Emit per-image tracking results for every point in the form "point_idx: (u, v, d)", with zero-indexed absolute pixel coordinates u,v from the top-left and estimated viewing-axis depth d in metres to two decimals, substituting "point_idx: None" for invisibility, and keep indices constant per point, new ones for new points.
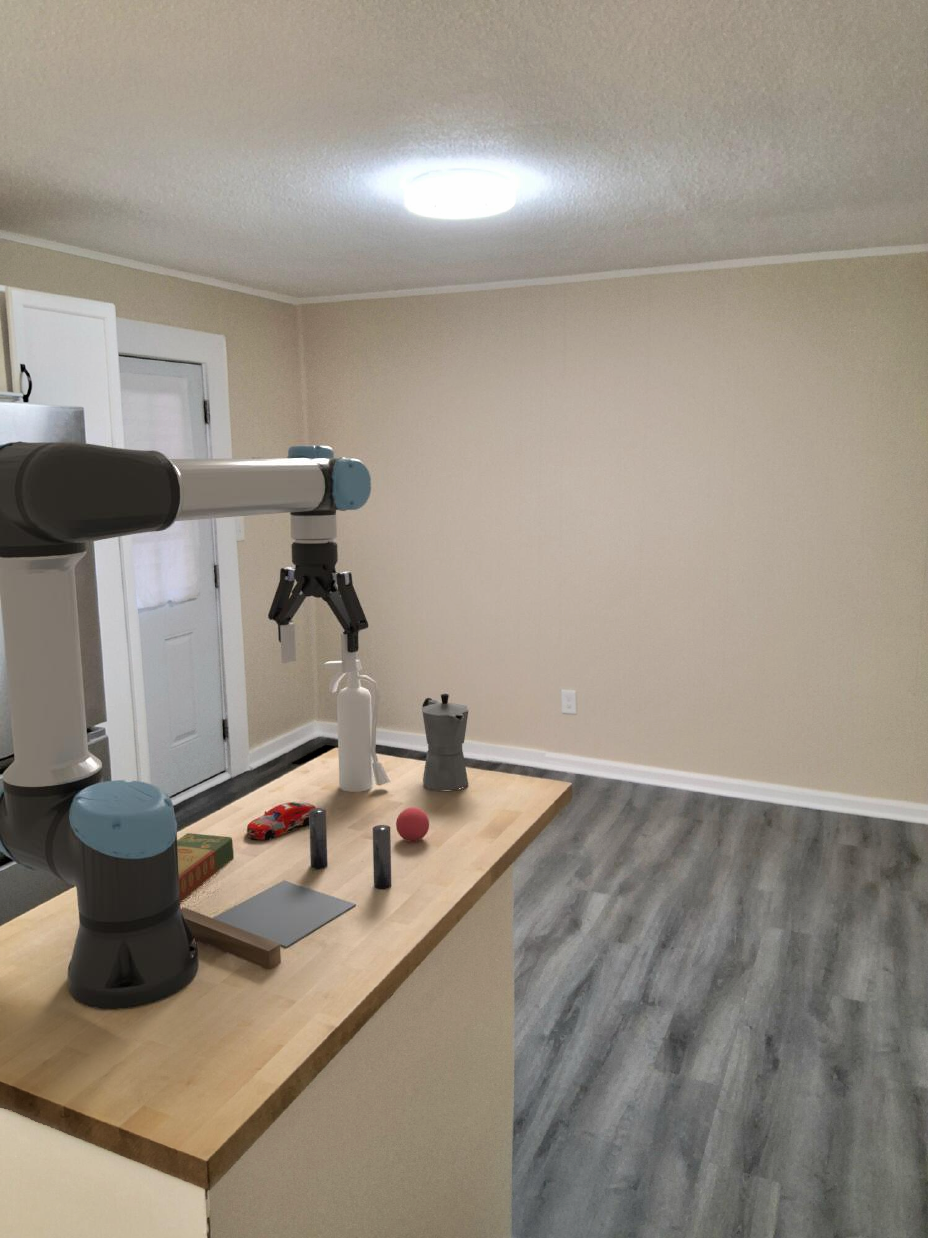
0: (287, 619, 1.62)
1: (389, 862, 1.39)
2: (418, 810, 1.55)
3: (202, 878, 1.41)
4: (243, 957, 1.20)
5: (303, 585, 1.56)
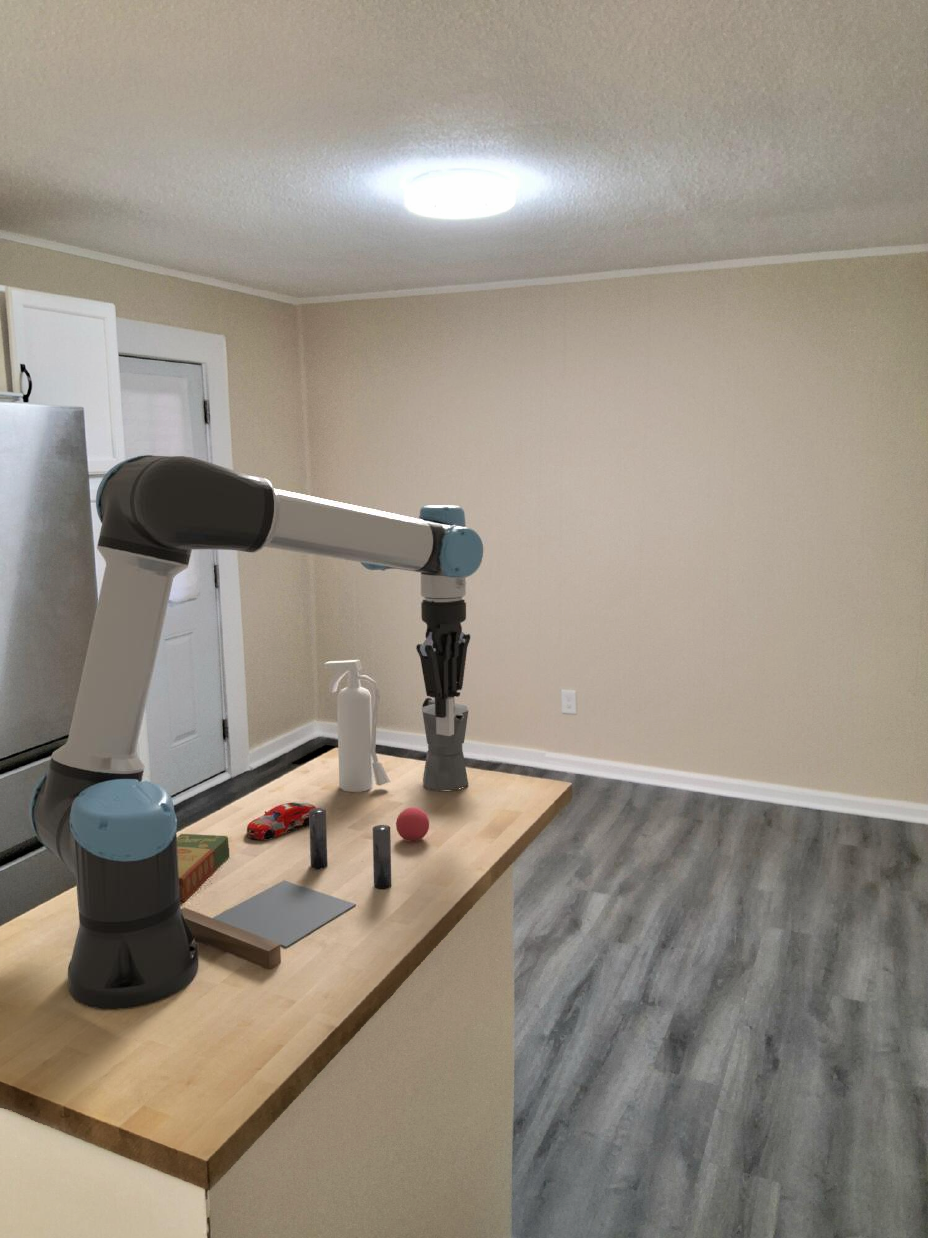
0: (449, 690, 1.61)
1: (389, 862, 1.39)
2: (418, 810, 1.55)
3: (204, 877, 1.41)
4: (243, 957, 1.20)
5: None
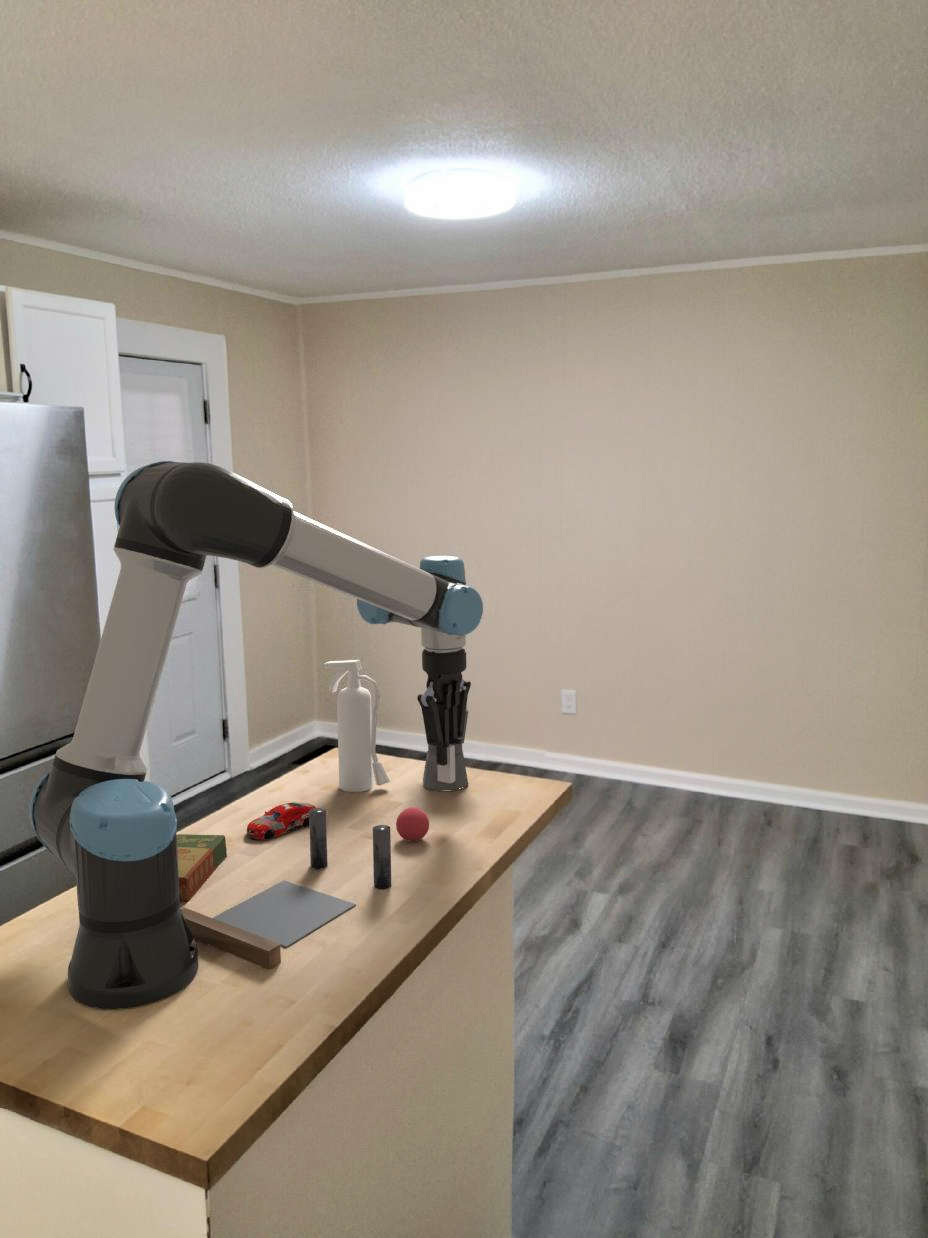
0: (450, 737, 1.62)
1: (389, 862, 1.39)
2: (418, 810, 1.55)
3: (205, 876, 1.41)
4: (243, 957, 1.20)
5: None
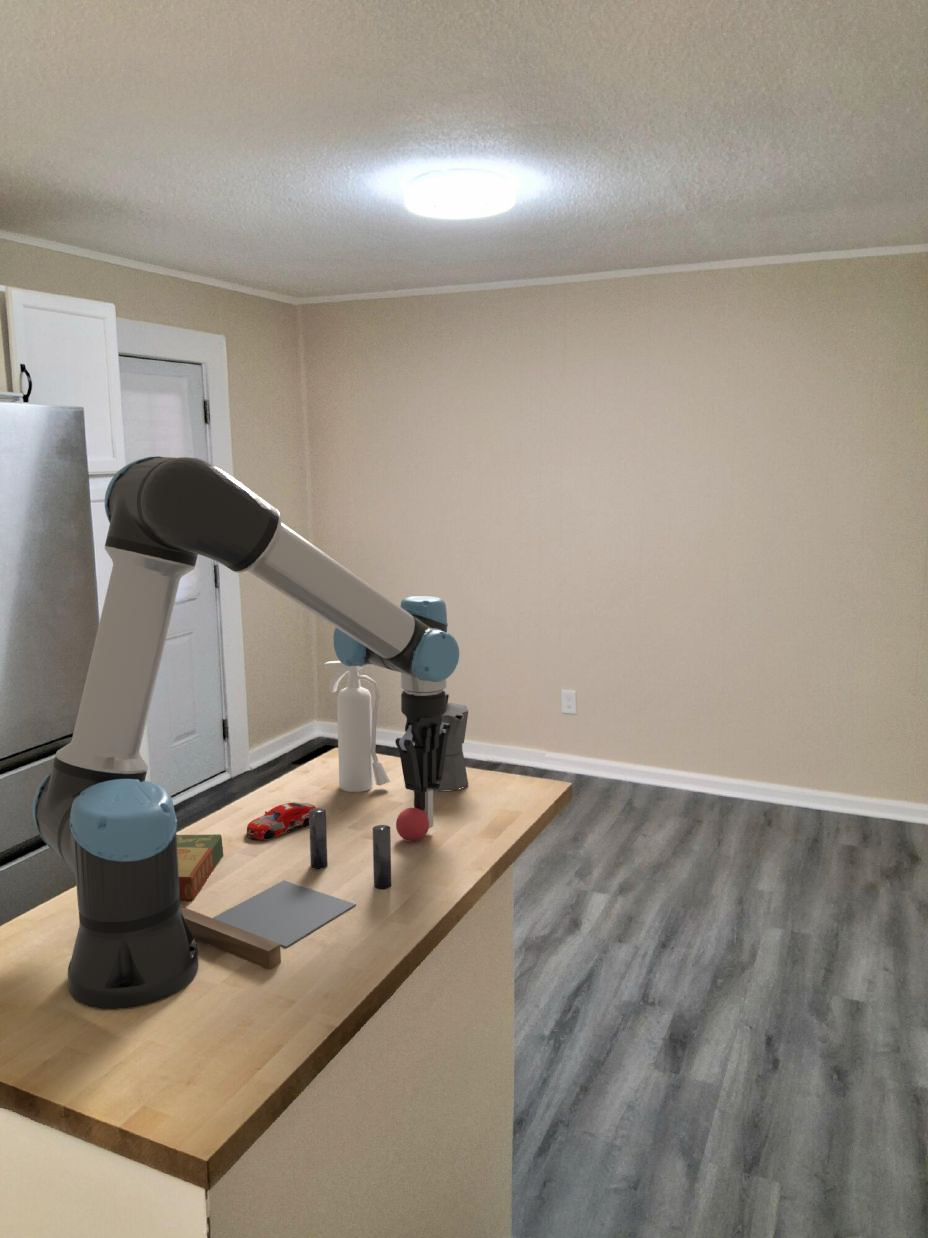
0: (429, 781, 1.59)
1: (389, 862, 1.39)
2: (418, 810, 1.55)
3: (206, 875, 1.42)
4: (243, 957, 1.20)
5: None
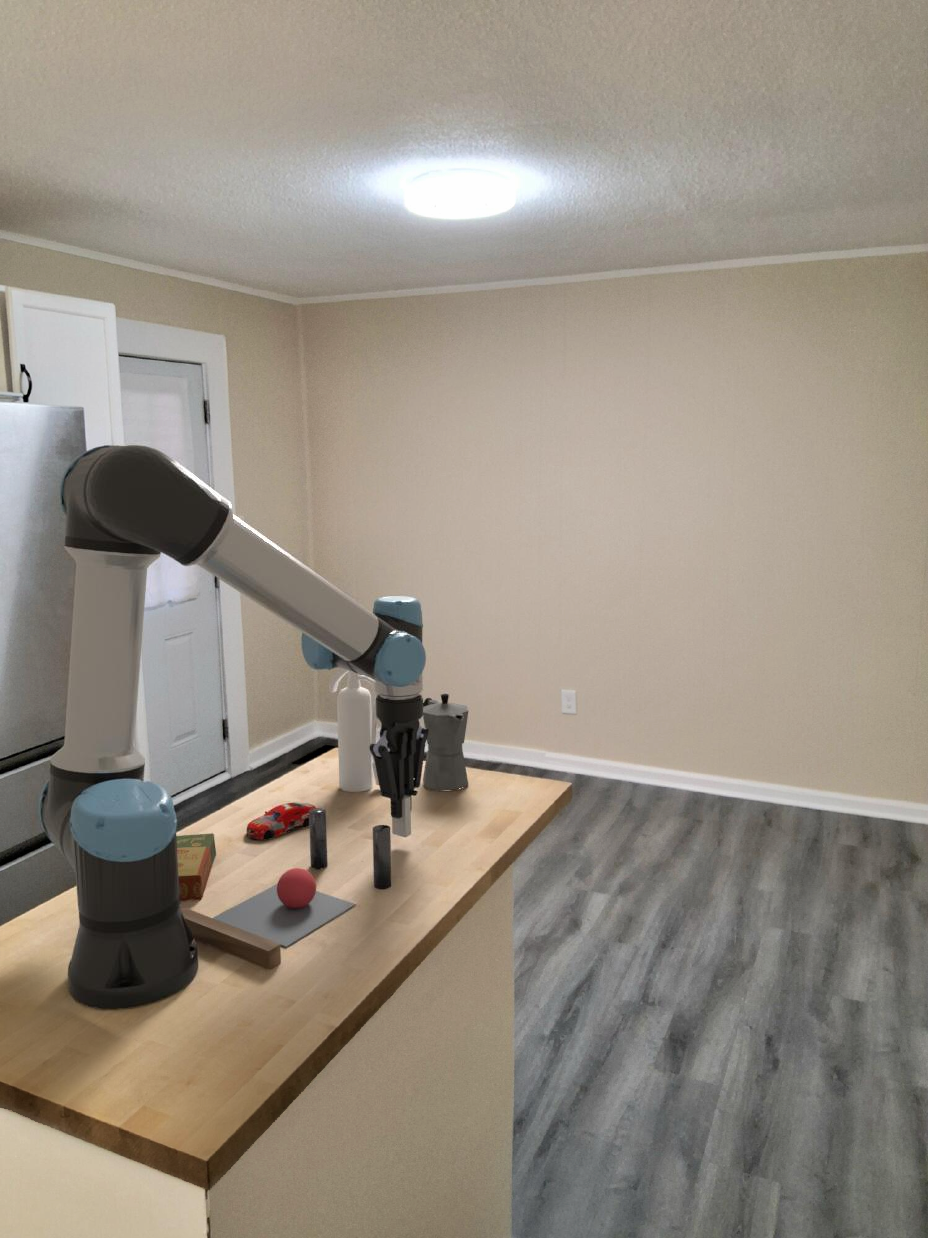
0: (406, 788, 1.53)
1: (389, 862, 1.39)
2: (301, 907, 1.33)
3: (207, 874, 1.42)
4: (243, 957, 1.20)
5: None
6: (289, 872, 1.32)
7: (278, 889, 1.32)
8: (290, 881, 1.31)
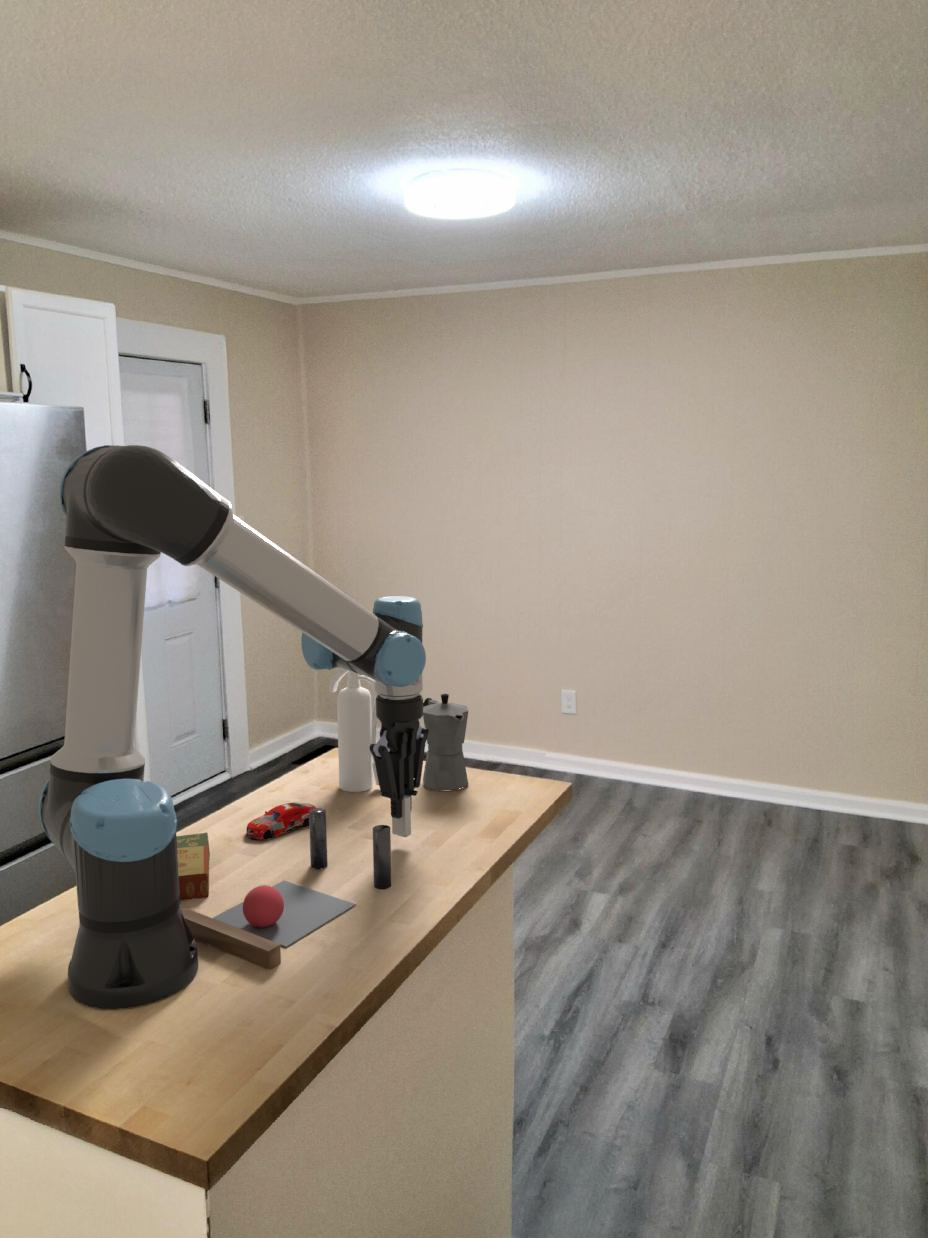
0: (406, 788, 1.53)
1: (389, 862, 1.39)
2: (278, 891, 1.29)
3: None
4: (243, 957, 1.20)
5: None
6: None
7: None
8: None
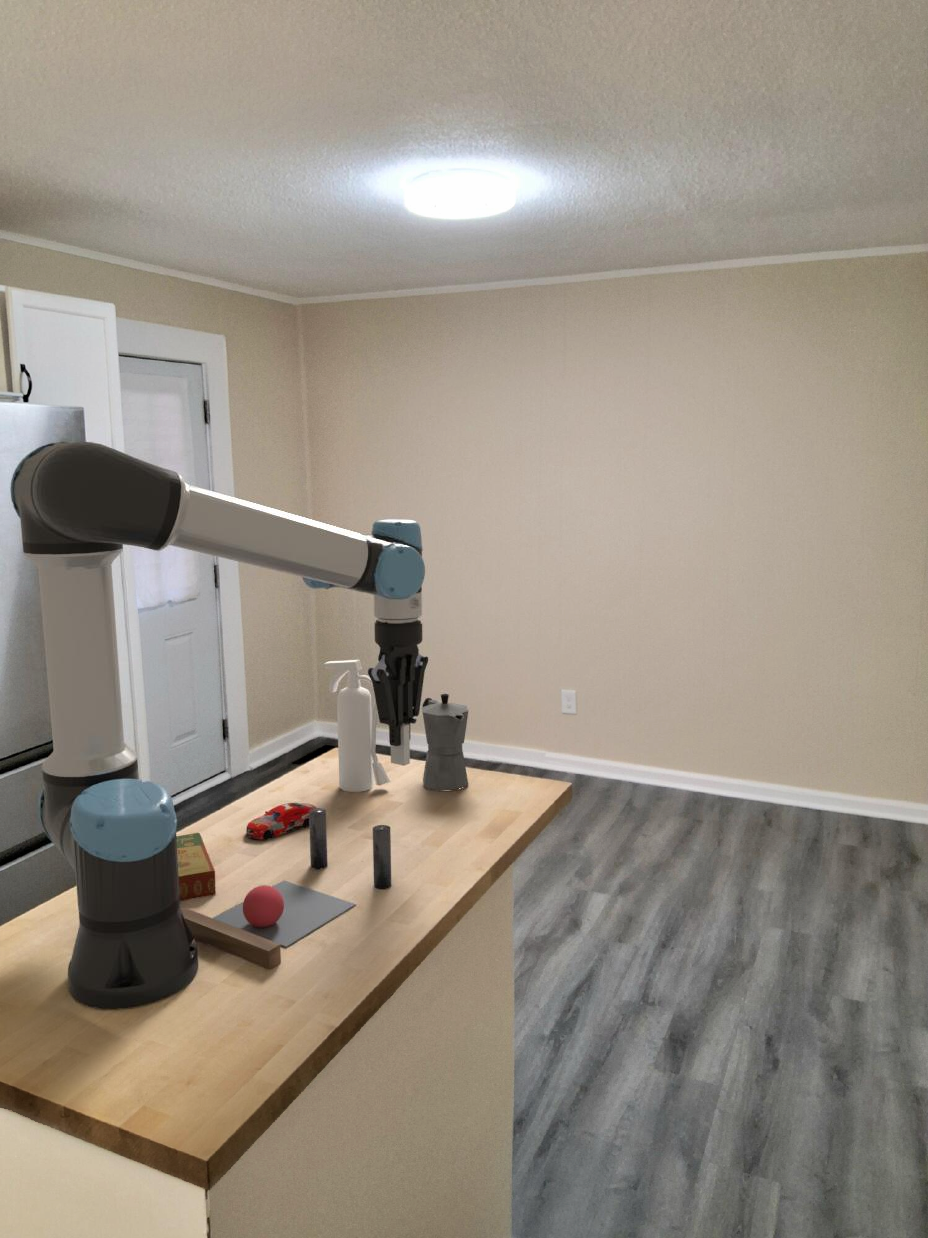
0: (405, 716, 1.51)
1: (389, 862, 1.39)
2: (278, 891, 1.29)
3: None
4: (243, 957, 1.20)
5: None
6: None
7: None
8: None
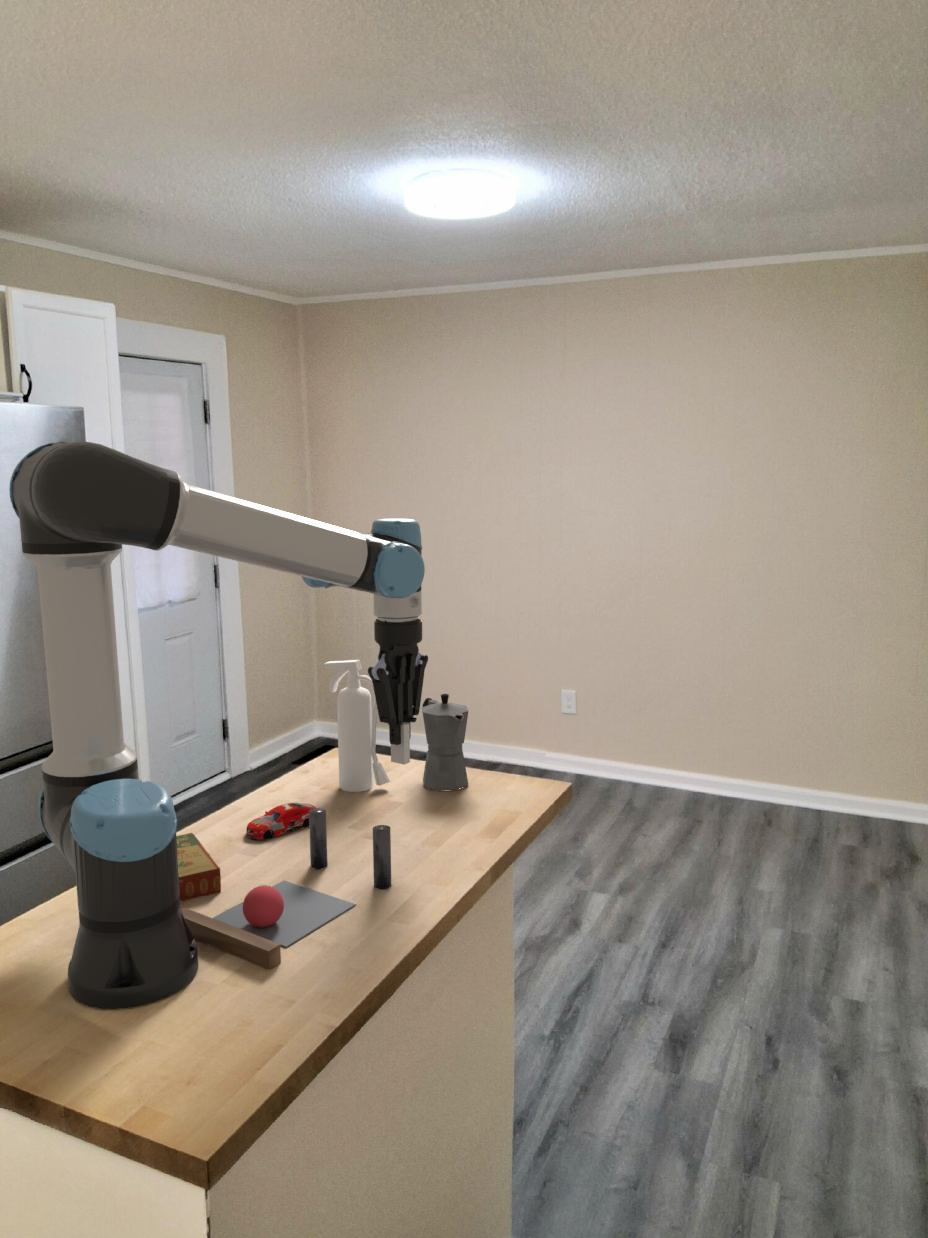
0: (405, 715, 1.51)
1: (389, 862, 1.39)
2: (278, 891, 1.29)
3: None
4: (243, 957, 1.20)
5: None
6: None
7: None
8: None
